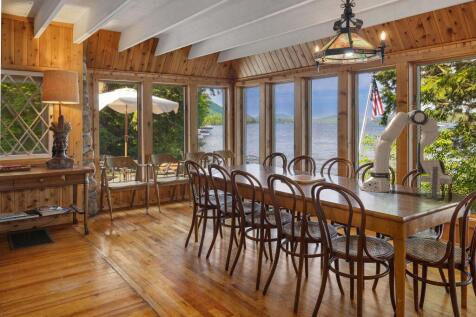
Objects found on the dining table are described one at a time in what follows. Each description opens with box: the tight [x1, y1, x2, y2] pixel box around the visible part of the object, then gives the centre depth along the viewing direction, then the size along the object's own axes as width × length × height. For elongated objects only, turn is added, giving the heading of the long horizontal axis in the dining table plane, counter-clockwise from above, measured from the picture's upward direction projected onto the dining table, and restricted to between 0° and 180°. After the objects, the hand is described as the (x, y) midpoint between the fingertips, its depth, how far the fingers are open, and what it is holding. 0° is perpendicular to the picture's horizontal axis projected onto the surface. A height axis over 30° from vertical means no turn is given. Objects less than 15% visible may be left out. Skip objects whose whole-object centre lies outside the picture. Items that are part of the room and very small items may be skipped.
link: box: [429, 171, 441, 193], centre depth 267 cm, size 6×5×14 cm
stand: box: [426, 166, 443, 200], centre depth 264 cm, size 9×11×22 cm
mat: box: [418, 192, 432, 197], centre depth 276 cm, size 8×8×1 cm
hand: (435, 181), depth 267 cm, fingers closed on link, 6 cm apart
